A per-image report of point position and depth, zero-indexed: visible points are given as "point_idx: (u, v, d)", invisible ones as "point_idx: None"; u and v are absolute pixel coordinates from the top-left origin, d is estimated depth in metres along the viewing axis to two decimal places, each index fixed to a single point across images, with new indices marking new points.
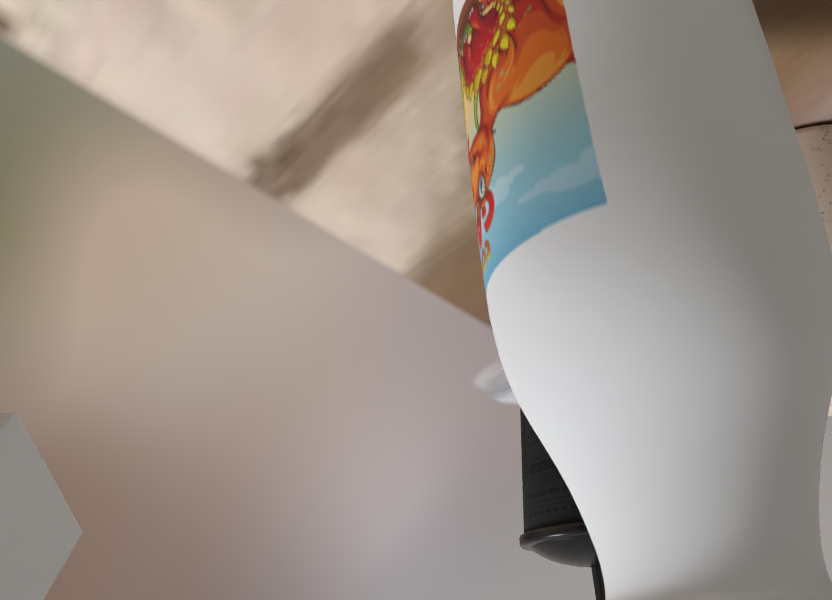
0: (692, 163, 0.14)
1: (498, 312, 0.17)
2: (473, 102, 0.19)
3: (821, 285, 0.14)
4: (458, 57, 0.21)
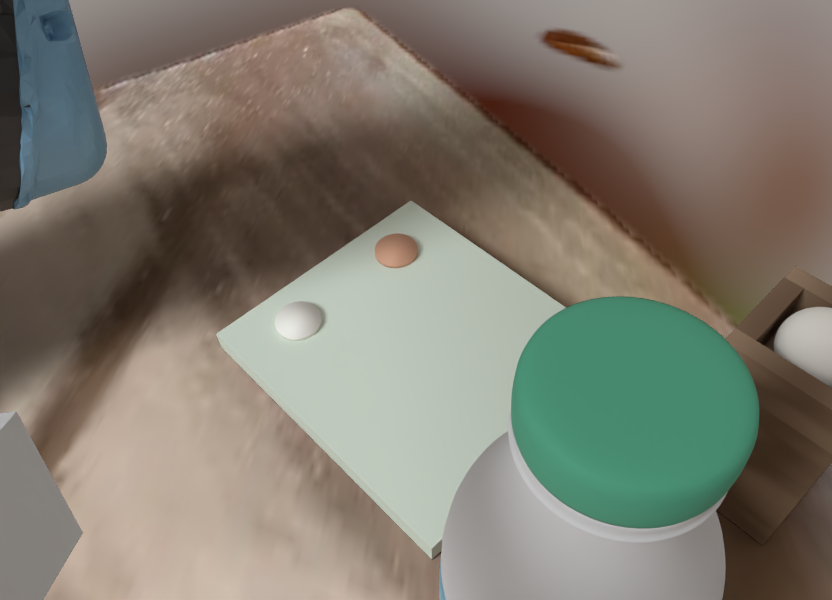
0: None
1: None
2: None
3: None
4: None
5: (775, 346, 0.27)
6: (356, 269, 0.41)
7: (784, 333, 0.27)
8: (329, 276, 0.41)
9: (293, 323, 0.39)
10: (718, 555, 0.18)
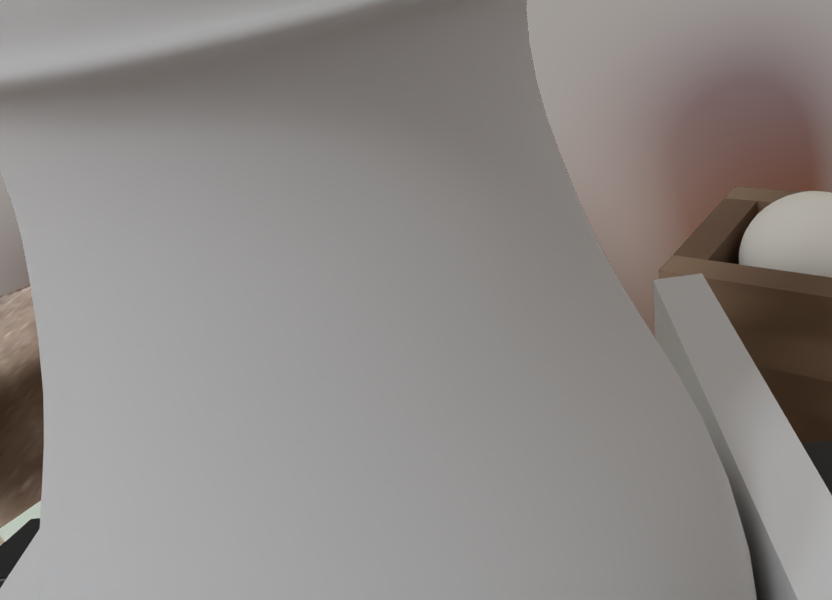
0: None
1: None
2: None
3: None
4: None
5: None
6: None
7: (747, 243, 0.17)
8: None
9: None
10: (677, 395, 0.07)
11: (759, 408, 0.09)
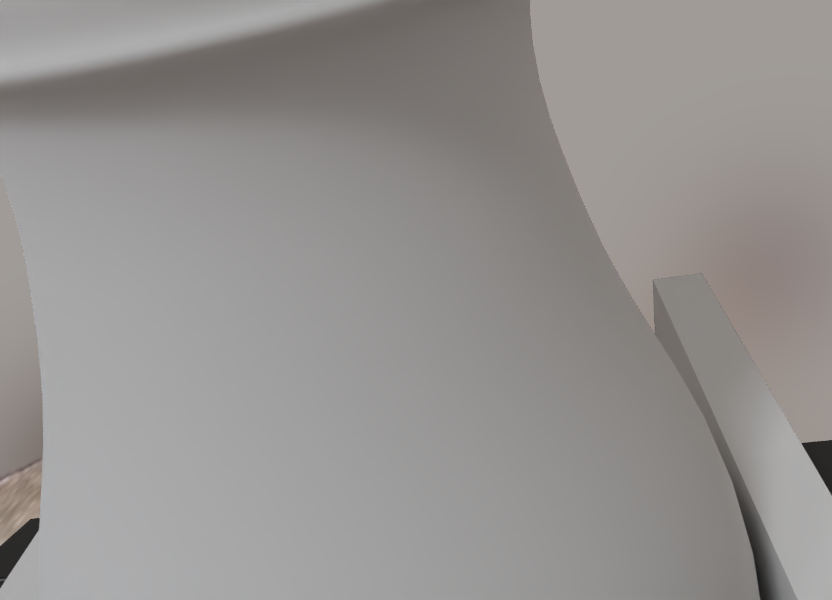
0: None
1: None
2: None
3: None
4: None
5: None
6: None
7: None
8: None
9: None
10: (680, 397, 0.07)
11: (759, 408, 0.09)
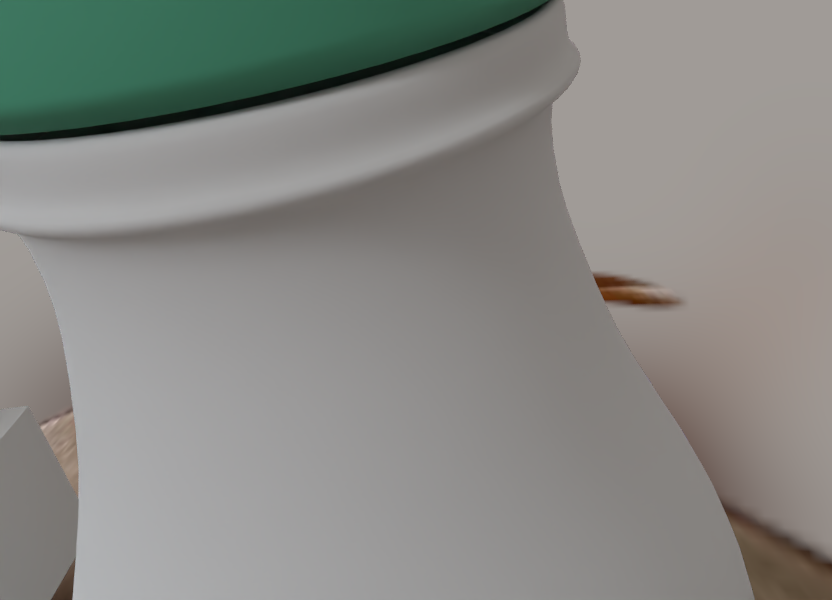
0: None
1: None
2: None
3: None
4: None
5: None
6: None
7: None
8: None
9: None
10: (691, 475, 0.07)
11: None
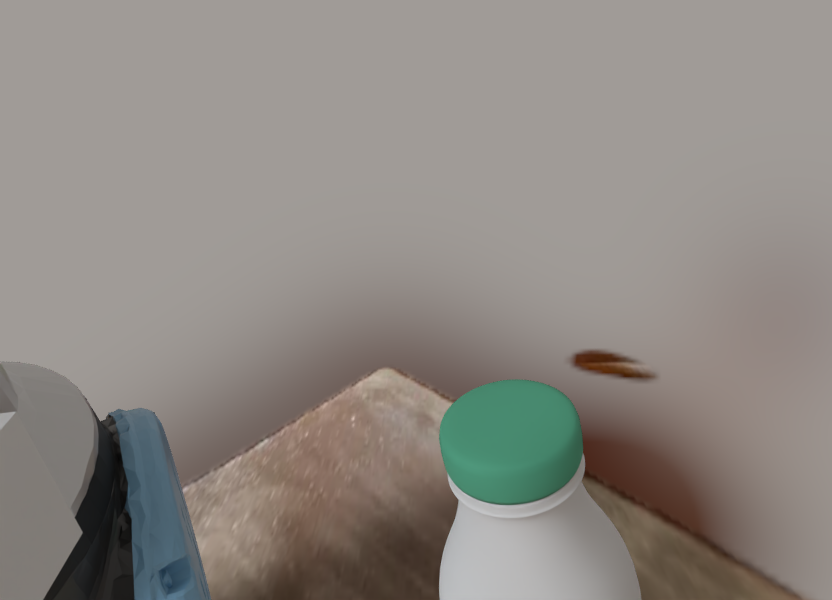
0: None
1: None
2: None
3: None
4: None
5: None
6: None
7: None
8: None
9: None
10: (614, 546, 0.26)
11: None
